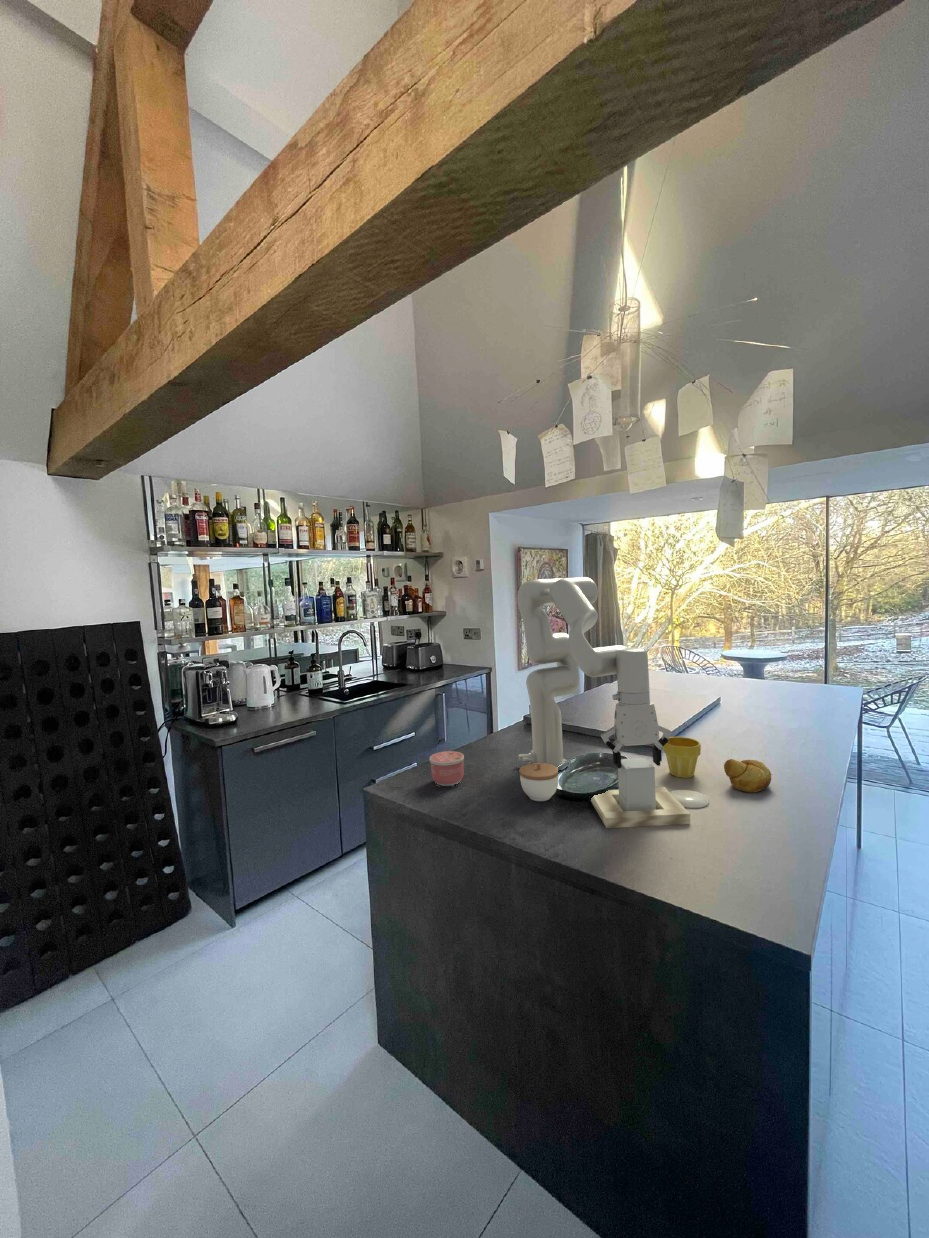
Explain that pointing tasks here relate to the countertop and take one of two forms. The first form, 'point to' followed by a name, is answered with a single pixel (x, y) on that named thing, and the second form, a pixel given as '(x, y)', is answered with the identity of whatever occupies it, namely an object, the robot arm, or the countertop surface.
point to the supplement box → (636, 785)
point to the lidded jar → (539, 780)
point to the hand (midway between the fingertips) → (637, 765)
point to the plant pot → (682, 755)
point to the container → (447, 767)
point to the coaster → (690, 798)
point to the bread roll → (748, 775)
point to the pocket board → (664, 814)
